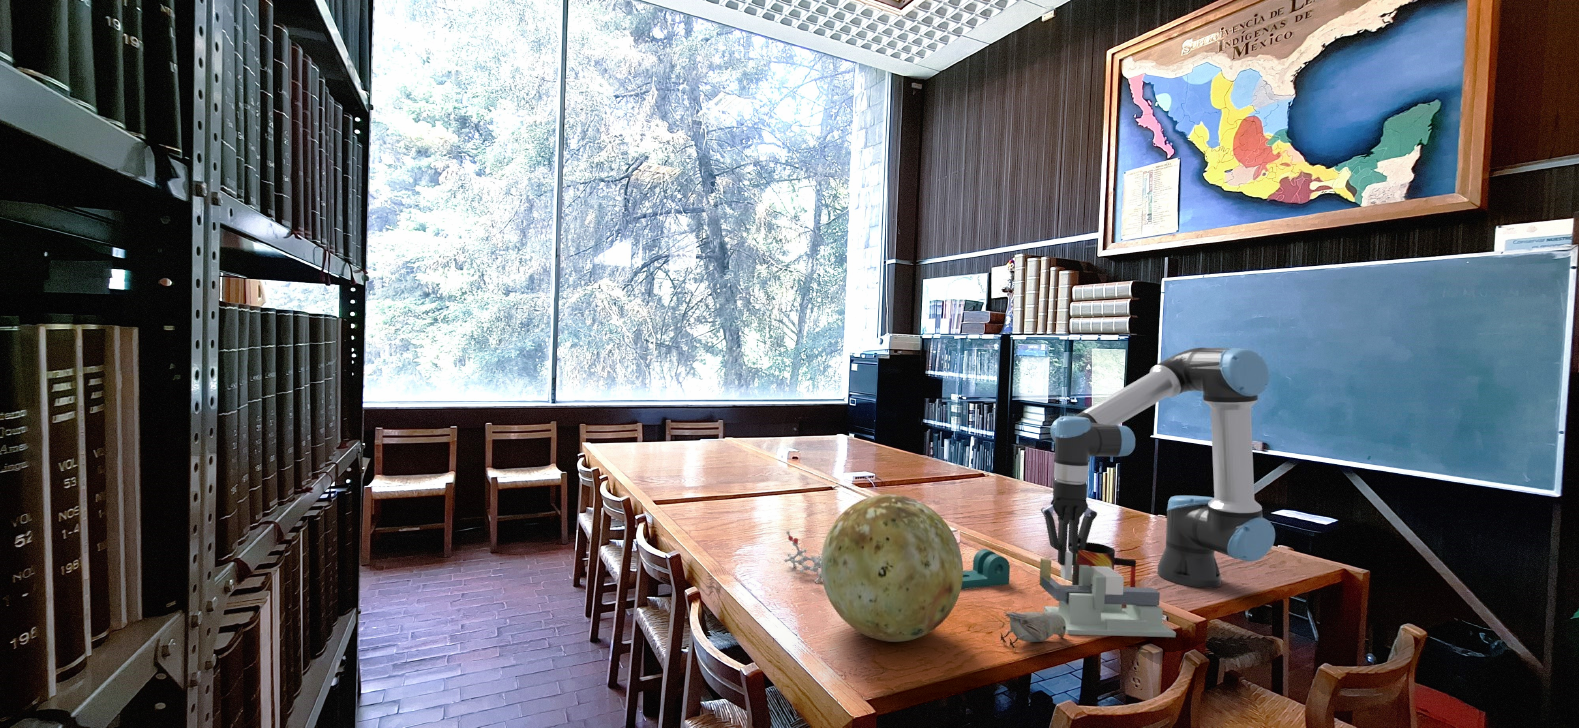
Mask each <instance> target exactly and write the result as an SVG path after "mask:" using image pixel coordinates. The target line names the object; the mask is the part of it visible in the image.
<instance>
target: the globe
mask: <svg viewBox="0 0 1579 728" xmlns="http://www.w3.org/2000/svg"><path fill="white" fill-rule="evenodd" d="M820 558H821V568H820V572H821V575H822V578H821V581H822V585H823V589H824V590H825V594H826V596H827V599H828V601H829V602H830V604H831V606H832V607H833V609H834V611H835V612H836V613H837V615H838V616H839V617H840V618H841V619H842V620H843V621H844V623H846V624H848V625H849V626H850V628H853V629H854V630H856V631H857V632H858V633H861V634H863V635H864V636H866V637H868V638H871V639H875V640H878V641H884V642H892V643H897V642H906V641H908V642H909V641H913V640H915V639H918V638H921V637H923V636H925V635H928V634H929V633H930V632H932V631H934V630H935V629H936V628H938V627H939V626H940V625H941V624H942V623H943V622H944V621H945V620H946V619H947V618H948V616H949V615H951V613H952V611H953V610H954V608H955V606H956V604H957V602H958V600H959V597H960V594H961V590H962V589H961V587H962V580H963V571H964V564H963V558H962V553H961V549H960V546H959V543H958V540H957V539H956V537H955V534H954V532H953V530H952V529H951V528H950V526H949V525H948V524H947V522H946V521H945V520H944V518H942V517H941V516H940V515H939V514H938V513H937V512H936V511H935V510H934V509H932V508H931V507H930V506H928V505H926V504H925V503H923V502H921V501H919V500H918V499H917V500H916V499H914V498H912V497H908V496H904V495H899V494H877V495H873V496H869V497H866V498H863V499H862V500H858V501H857V502H855V503H853V504H852V505H851V506H849V507H848V508H847V509H845V510H844V511H843V512H842V513H841V514H840V515H839V516H838V517H837V518H836V519H835V521H834V522H833V524H832V525H831V527H830V528H829V530H828V532H827V534H826V537H825V539H824V541H823V545H822V550H821V556H820Z"/></svg>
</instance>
